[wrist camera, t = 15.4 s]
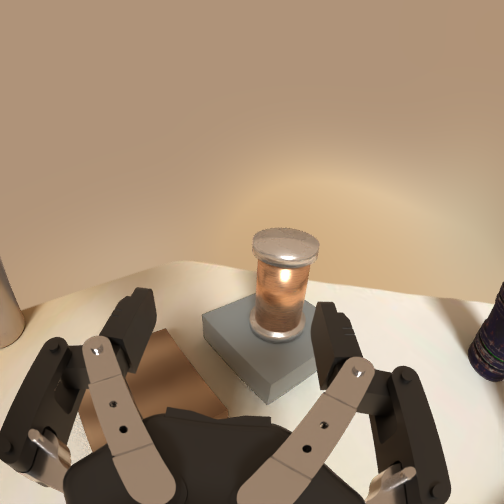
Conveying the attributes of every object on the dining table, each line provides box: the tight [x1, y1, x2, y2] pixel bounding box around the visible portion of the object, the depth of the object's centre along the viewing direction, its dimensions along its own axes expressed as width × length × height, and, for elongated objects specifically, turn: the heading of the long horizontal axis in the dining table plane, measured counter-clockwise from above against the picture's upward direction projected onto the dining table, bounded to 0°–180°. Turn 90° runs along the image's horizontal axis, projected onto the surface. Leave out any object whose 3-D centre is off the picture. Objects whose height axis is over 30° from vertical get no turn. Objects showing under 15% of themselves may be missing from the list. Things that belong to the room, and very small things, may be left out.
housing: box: [249, 228, 319, 344], centre depth 29 cm, size 7×7×11 cm
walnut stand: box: [78, 328, 228, 452], centre depth 23 cm, size 13×13×4 cm
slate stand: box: [202, 293, 317, 405], centre depth 33 cm, size 13×13×4 cm
